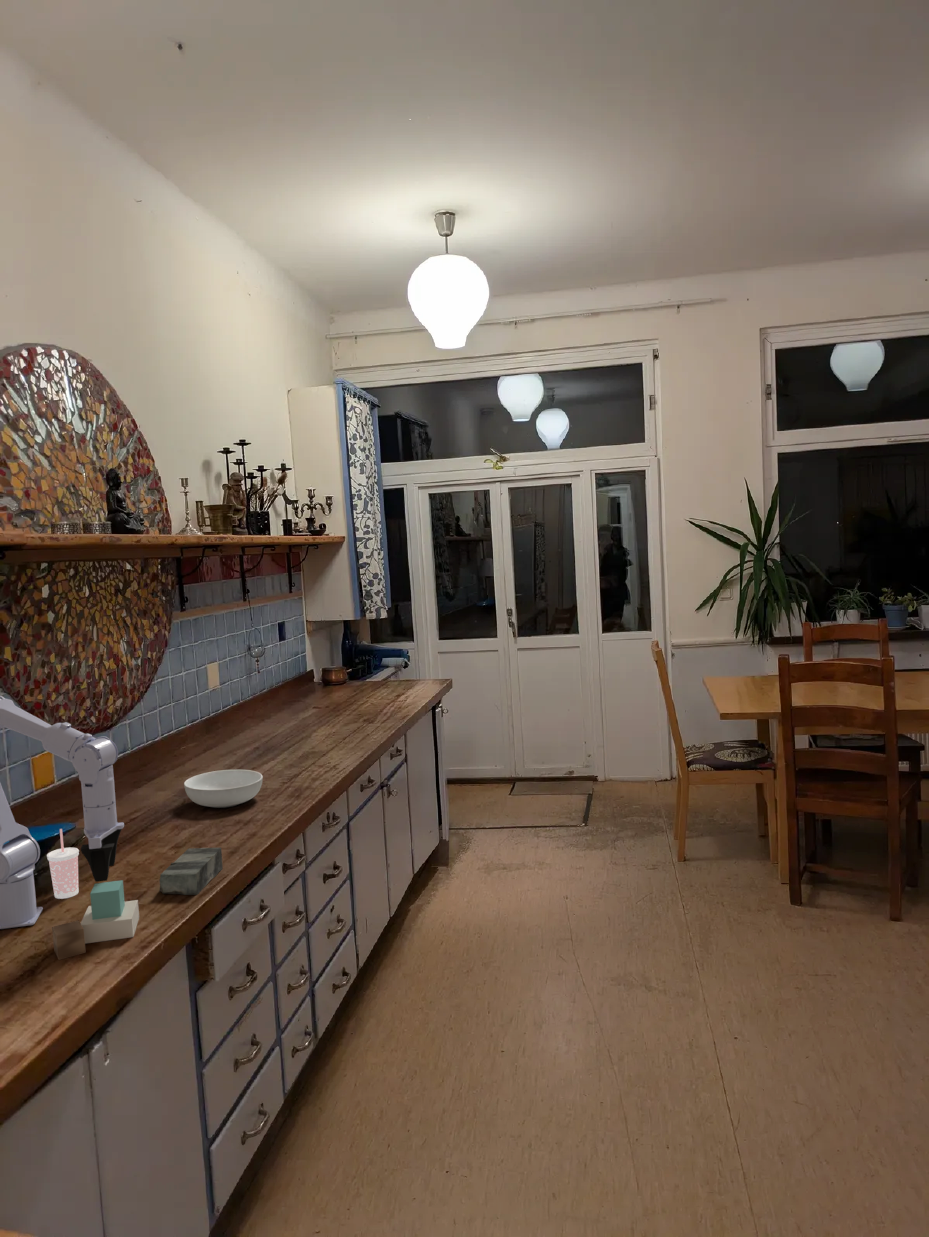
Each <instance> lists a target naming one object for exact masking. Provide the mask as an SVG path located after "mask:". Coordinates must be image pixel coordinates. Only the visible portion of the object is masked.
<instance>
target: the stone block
mask: <svg viewBox="0 0 929 1237" xmlns="http://www.w3.org/2000/svg"><path fill="white" fill-rule="evenodd" d="M222 853H223V852H222V847H199V848H198V847H193V848H187V849H186V850H185V851H184V852H183V853H182V854H181V855H180V856H179V857H178V858H177V859H176V860H174V862H171V863H170V864H169V865H168V867H167V868H166V869H165V870H163V872H162V873H160V877H159V892H161V893H162V894H164V895H166V894H169V895H183V896H197V895H198V894H199V893H200V892H202V891H203V890H204V889H205V887H207V885H208V884H209V883H210V881H211V880H213V879H214V878H215V877H217V875H219V873H220V872H221V871H222V870H223V869H224V868H223V867H224V866H223V855H222Z"/></svg>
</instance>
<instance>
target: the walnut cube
mask: <svg viewBox="0 0 929 1237" xmlns="http://www.w3.org/2000/svg"><path fill="white" fill-rule="evenodd" d="M51 929H52V940H53V951H54V953H55V955H56V957H57V959H58V961H59V960H63V959H66V958H70V957H74V956H78V955H83V954H85V953H86V943H85V939H84V929H83V927H82V925H81V921H80V920H75V921H71V922H66V923H63V924H58V925H56V926H52V927H51Z"/></svg>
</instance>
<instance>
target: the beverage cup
mask: <svg viewBox="0 0 929 1237" xmlns="http://www.w3.org/2000/svg"><path fill="white" fill-rule="evenodd" d="M59 836H60V848H57V849H55V850H52V851H49V852H48V853H47V854H46V858H47V861H48V862H49V870H50V876H51V881H52V888H53V893H54V894H53V896H54V898H55V899H58V900H60V899H61V900H63V899H69V898H72V897H74V896H77V895H78V894H79V891H80V890H79V855H80V853H79V852H80V850H79V849H78V848H77V847H70V846H69V847H64V835H63V828H59Z"/></svg>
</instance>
